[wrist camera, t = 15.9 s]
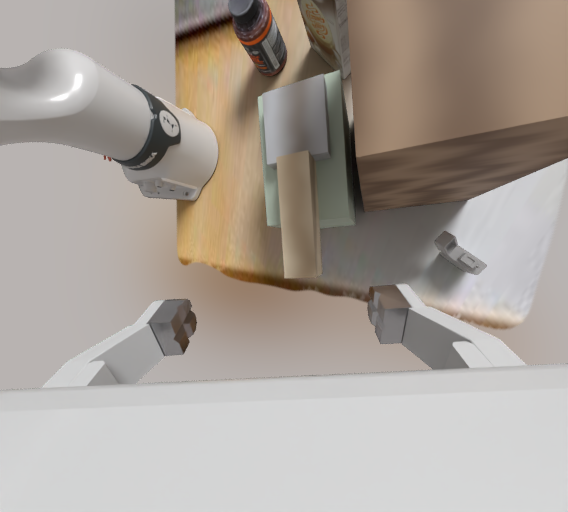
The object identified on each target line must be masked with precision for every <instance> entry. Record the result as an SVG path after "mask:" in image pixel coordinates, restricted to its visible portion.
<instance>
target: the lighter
mask: <svg viewBox="0 0 568 512" xmlns="http://www.w3.org/2000/svg"><path fill="white" fill-rule="evenodd" d="M434 243H435V244H436V246H437V248H438V250H440V251H441V252H440V255H441V256H442V257H444V258H445V259H447V260H448V261H450V262H451V263H452V264H454V265H455V266H457V267H458V268H460V269H461V270H462V271H465V272H468V273H471V274H474V275H478V274H479V273H480V272H481V271H482V270H484V269H485V268H486V267H487V265H486V264H485V263H484V262H482V261H481V260H479V259H478V258H476V257H475V256H473V255H472V254H470V253H469V252H467V251H466V250H464V249H463V248H461V247H460V246H457V245H458V243H457V240H456V237H455V236H454V235H452V234H450V233H448V232H446V231H444V232H443V233H442V234H441V235H440V236H439V237H438V238H437V239H436V240H435V241H434Z"/></svg>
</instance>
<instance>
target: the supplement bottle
mask: <svg viewBox="0 0 568 512" xmlns="http://www.w3.org/2000/svg"><path fill="white" fill-rule="evenodd" d="M228 7H229V10H230V13H231V14H232V16H233V28H234V31H235V34H236V36H237V37H238V39H239V40H240V42H241V44H242V45H243V47H244V48H245V50H246V51H247V53H248V54H249V56H250V58H251V59H252V61H253V62H254V64H255V65H256V67H257V68H258V70H259V71H260V72H261V73H262V74H263V75H266V76H272V75H275V74H277V73H278V72H279V71H280V70H281V69H282V68H283V66H284V65H285V62H286V59H287V50H286V46H285V43H284V41H283V39H282V36H281V34H280V32H279V29H278V27H277V24H276V22H275V20H274V17H273V15H272V12H271V10H270V8H269V6H268V4H267V2H266V0H229V3H228Z"/></svg>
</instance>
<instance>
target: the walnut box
mask: <svg viewBox="0 0 568 512" xmlns="http://www.w3.org/2000/svg"><path fill="white" fill-rule="evenodd" d="M347 17H348V33H349V50H350V66H351V83H352V99H353V116H354V132H355V148H356V160H357V167H358V173H359V180H360V187H361V193H362V200H363V206H364V212H368V211H377V210H385V209H394V208H403V207H411V206H420V205H429V204H437V203H446V202H454V201H463V200H469V199H472V198H474V197H476V196H479V195H481V194H483V193H486V192H488V191H491V190H493V189H495V188H498V187H500V186H502V185H505V184H507V183H510V182H512V181H514V180H517V179H519V178H521V177H524V176H526V175H529V174H531V173H533V172H536V171H538V170H540V169H543V168H545V167H547V166H550V165H552V164H555V163H557V162H559V161H562V160H564V159H566V158H568V0H347Z"/></svg>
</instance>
